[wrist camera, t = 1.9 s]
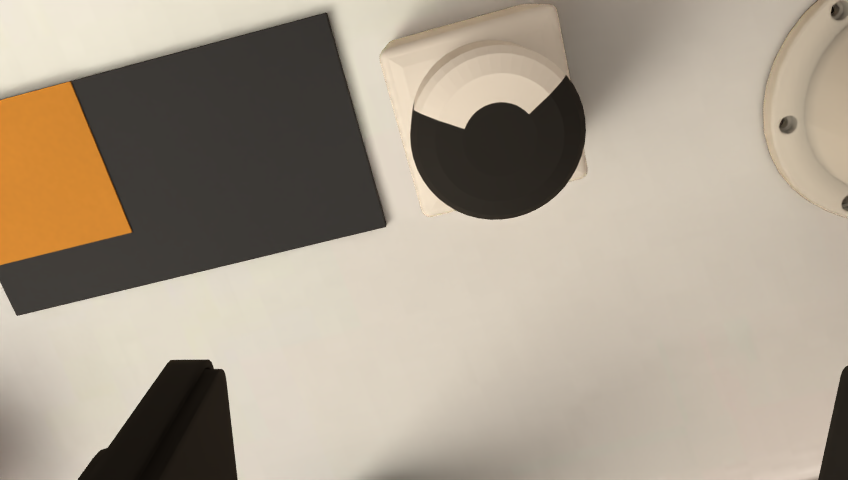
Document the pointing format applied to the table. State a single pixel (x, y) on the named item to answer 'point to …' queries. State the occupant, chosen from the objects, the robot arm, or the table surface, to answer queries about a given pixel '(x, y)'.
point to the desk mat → (180, 166)
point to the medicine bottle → (487, 112)
